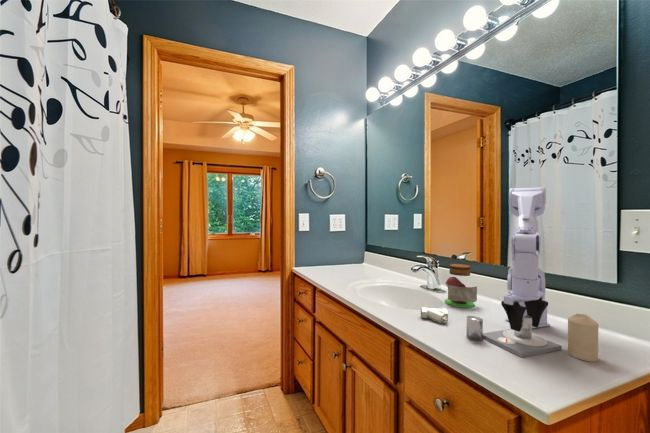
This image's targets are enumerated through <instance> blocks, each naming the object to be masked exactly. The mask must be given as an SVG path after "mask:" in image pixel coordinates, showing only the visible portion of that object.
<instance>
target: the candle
mask: <svg viewBox="0 0 650 433" xmlns="http://www.w3.org/2000/svg"><path fill="white" fill-rule="evenodd" d="M567 354H568V355H569V356H571V357H572V358H575V359H578V360H579V361H580V360H581V361H585V362H590V363H591V362H592V363H594V362H595V363H597V362H598V360H599V323H598V322H597V321H596V320H594V319H593V318H591V316H588V315H587V314H584V313H576V314H573V315H571V316H570V317H568V318H567Z"/></svg>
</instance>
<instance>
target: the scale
mask: <svg viewBox="0 0 650 433" xmlns="http://www.w3.org/2000/svg"><path fill="white" fill-rule="evenodd" d="M483 340H486V341H487V342H490V343H491V344H494V346H495V345H496V346H497V347H499V348H502V349H503V350H505V351H508V352H510V353H512V354H514V355H516V356H518V357H519V358H525V357H530V356H535V355H536V356H537V355H541V354H545V353H546V354H547V353H551V352H552V353H553V352H556V351H562V349H563V348H562V345H561V344H559V343H557V342H553V341H551V340H548V339H547V338H545V337H543V336H541V335H539V334H537V333H533V332H532V339H529V340H527V339H521V338H518V337H516V336H514V330H512V329H511V328H509V329H502V330H495V331H489V332H483Z"/></svg>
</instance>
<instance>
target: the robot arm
mask: <svg viewBox="0 0 650 433" xmlns="http://www.w3.org/2000/svg"><path fill="white" fill-rule="evenodd" d="M546 188H547V187H545V186H538V187H519V188H518V187H516V188H514V187H510V189H509V192H508V203H509V204H508V206H509V211H510V214H511V215H514V216H516V217H515V219H514V224H513V234H512V235H511V236H510V251H511V260H512V266H510V267H509V269H508V270H507V273H508V274H507V283H506V284H507V285H506V286H507V287H506V288H507V291H508V294H506V295H503V300H502V301H501V302H500V305H501V306H502V308H503V309H504V311H505V313H506V316H507V318H505V321H507V322H508V323H509V327H510V329H512V330H515V331H518V332H519V331H520V330H521V326H522V318H523V315H524V314H525V315H529V316H531V317H532V329H536V328H537V329H538V328H543V327H550V326H551V324H550V323H548V306H549V302H548V301H547V300H546V278H545V277H546V273H545V272H544V270H542V269H540V267H539V256H540V254H541V249H542V248H541V247H542V246H541V245H542V244H541V240H542V239H541V236H540V231H539V220H538V217H539V216H541V215H544V211H545V210H546V203H547V202H546V201H547V194H546V193H547V189H546ZM537 252H538V254H537Z"/></svg>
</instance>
